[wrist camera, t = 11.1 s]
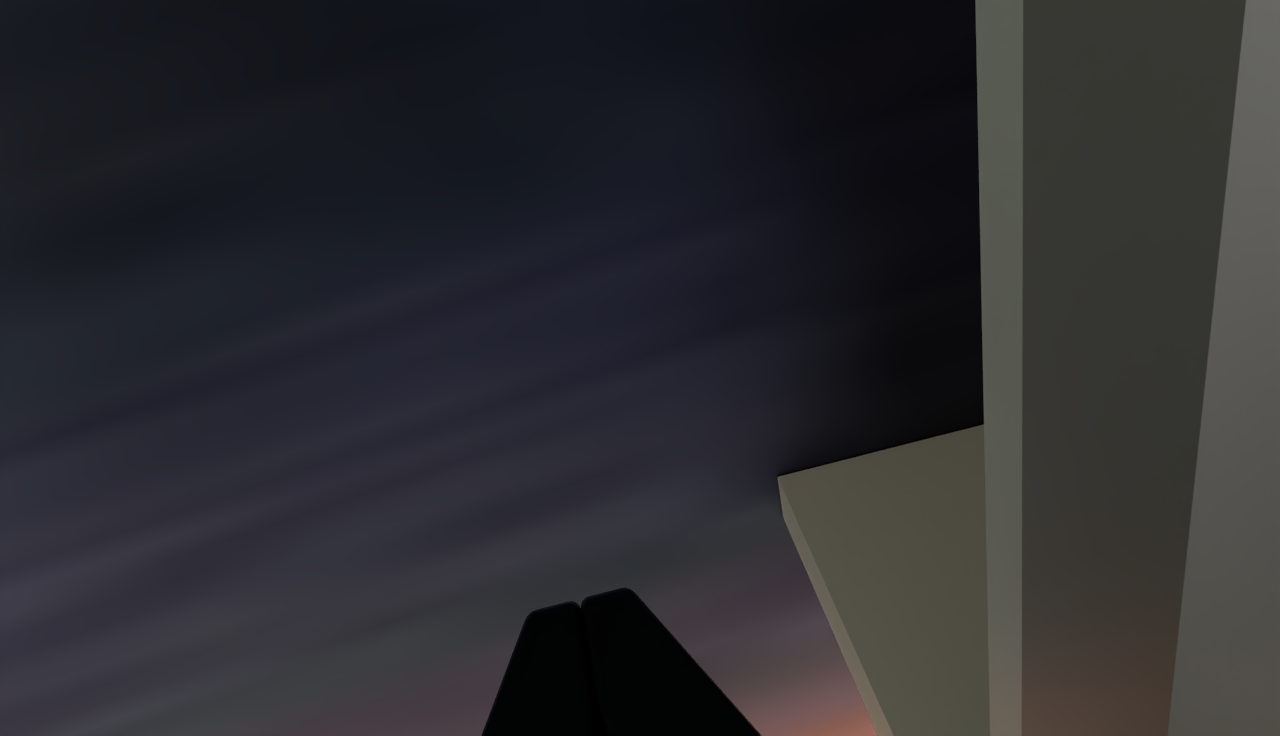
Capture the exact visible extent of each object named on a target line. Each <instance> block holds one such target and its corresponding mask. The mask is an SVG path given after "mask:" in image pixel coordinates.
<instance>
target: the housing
mask: <svg viewBox="0 0 1280 736" xmlns="http://www.w3.org/2000/svg"><path fill="white" fill-rule="evenodd" d="M777 478H778V485H779V492H780V499H781V506H782V513H783V518H784V521H785V523H786V525H787V528H788V530H789V532H790V535H791V537H792V539H793V541H794V544H795V546H796V548H797V551H798V553H799V555H800V558H801V560H802V562H803V564H804V567H805V569H806V571H807V574H808V576H809V578H810V581H811V583H812V585H813V587H814V590H815V592H816V594H817V597H818V599H819V601H820V604H821V606H822V608H823V610H824V613H825V615H826V617H827V620H828V622H829V624H830V627H831V629H832V631H833V633H834V636H835V638H836V640H837V643H838V645H839V647H840V650H841V652H842V654H843V656H844V659H845V661H846V663H847V666H848V668H849V670H850V673H851V675H852V677H853V679H854V682H855V684H856V686H857V689H858V691H859V693H860V696H861V698H862V700H863V702H864V705H865V707H866V709H867V712H868V714H869V716H870V719H871V721H872V723H873V725H874V728H875V730H876V732H877V735H878V736H990V699H989V649H988V600H987V550H986V501H985V451H984V424H983V425H980V426H976V427H972V428H968V429H964V430H960V431H956V432H952V433H948V434H944V435H940V436H936V437H932V438H928V439H924V440H921V441H917V442H913V443H909V444H905V445H901V446H897V447H893V448H889V449H885V450H881V451H877V452H873V453H869V454H865V455H862V456H858V457H854V458H850V459H846V460H842V461H838V462H834V463H830V464H826V465H822V466H818V467H814V468H810V469H806V470H803V471H799V472H795V473H791V474H787V475H783V476H779V477H777Z"/></svg>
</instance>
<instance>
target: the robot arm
mask: <svg viewBox="0 0 1280 736" xmlns="http://www.w3.org/2000/svg"><path fill="white" fill-rule="evenodd" d="M482 736H761V734H760V733H759V732H758V731H757V730H756V729H755V728H754V727H753V725H752V724H751V723H750V722H749V721H748V720H747V719H746V718H745V716H744V715H743V714H742V713H741V712H740V711H739V710H738V708H737V707H736V706H735V705H734V704H733V703H732V702H731V701H730V699H729V698H728V697H727V696H726V695H725V694H724V693H723V692H722V690H721V689H720V688H719V687H718V686H717V685H716V684H715V683H714V681H713V680H712V679H711V678H710V677H709V676H708V675H707V673H706V672H705V671H704V670H703V669H702V668H701V667H700V666H699V664H698V663H697V662H696V661H695V660H694V659H693V658H692V657H691V655H690V654H689V653H688V652H687V651H686V650H685V649H684V648H683V646H682V645H681V644H680V643H679V642H678V641H677V640H676V638H675V637H674V636H673V635H672V634H671V633H670V632H669V631H668V629H667V628H666V627H665V626H664V625H663V624H662V623H661V622H660V620H659V619H658V618H657V617H656V616H655V615H654V614H653V613H652V611H651V610H650V609H649V608H648V607H647V606H646V605H645V603H644V602H643V601H642V600H641V599H640V598H639V597H638V596H637V594H636V593H635V592H633V591H632V590H631V589H628V588H620V589H616V590H612V591H608V592H604V593H600V594H597V595H593V596H589V597H586V598H585V599H584V600H583V601H582V604H581V608H580V606H579V605H578V604H577V603H576V602H573V601H570V602H565V603H561V604H558V605H554V606H550V607H546V608H542V609H538V610H535V611H532V612H531V613H530V614H529V615H528V616H527V618H526V620H525V622H524V624H523V627H522V630H521V632H520V635H519V638H518V640H517V643H516V646H515V648H514V651H513V653H512V656H511V659H510V661H509V664H508V667H507V669H506V672H505V675H504V677H503V680H502V683H501V685H500V688H499V691H498V693H497V696H496V698H495V701H494V704H493V706H492V709H491V712H490V714H489V717H488V720H487V722H486V725H485V728H484V730H483V733H482Z"/></svg>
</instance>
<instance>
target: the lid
mask: <svg viewBox="0 0 1280 736" xmlns="http://www.w3.org/2000/svg"><path fill="white" fill-rule="evenodd" d="M975 5H976V55H977V104H978V154H979V203H980V253H981V303H982V352H983V402H984V451H985V501H986V550H987V600H988V649H989V699H990V736H1280V0H975Z"/></svg>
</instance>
